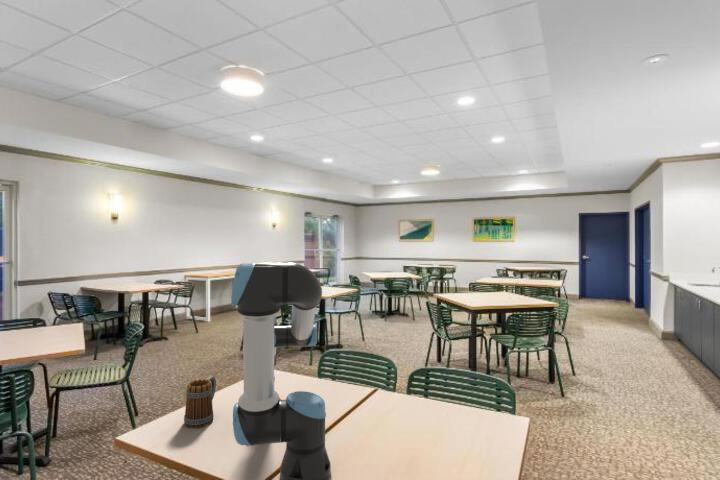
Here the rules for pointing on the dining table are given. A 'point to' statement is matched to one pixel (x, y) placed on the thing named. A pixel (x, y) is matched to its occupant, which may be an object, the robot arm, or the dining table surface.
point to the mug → (199, 402)
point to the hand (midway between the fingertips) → (265, 416)
